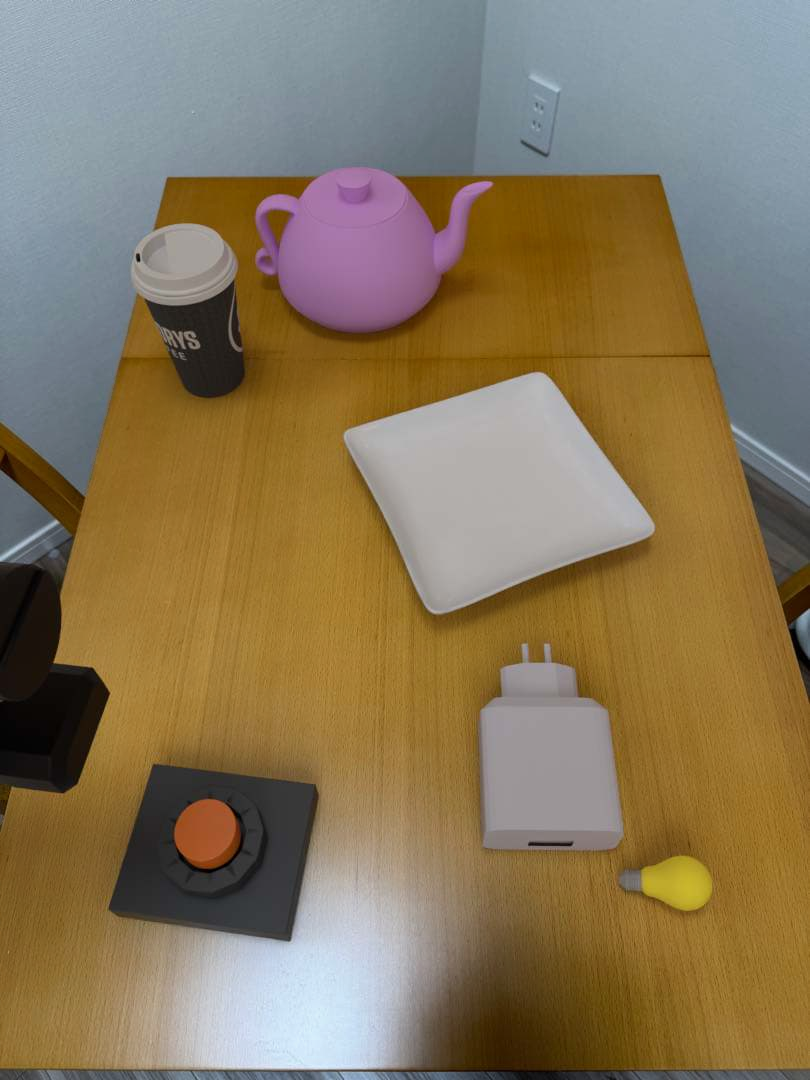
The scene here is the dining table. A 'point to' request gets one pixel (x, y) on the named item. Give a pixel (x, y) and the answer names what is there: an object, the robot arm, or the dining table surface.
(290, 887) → the switch base
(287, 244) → the teapot
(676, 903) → the light bulb
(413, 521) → the plate
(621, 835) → the charger
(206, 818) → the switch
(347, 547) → the dining table surface
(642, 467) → the dining table surface
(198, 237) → the coffee cup
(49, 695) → the robot arm
